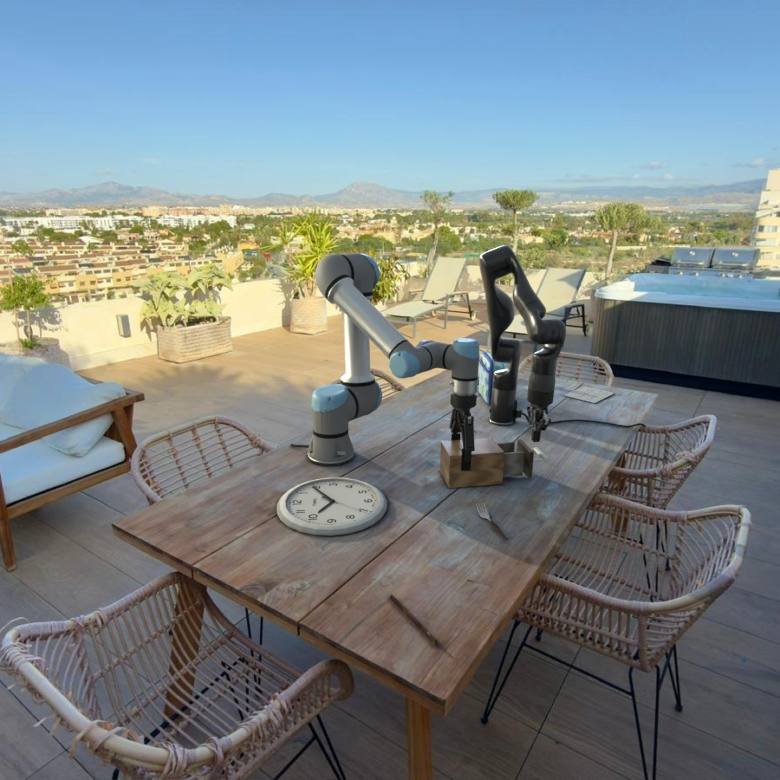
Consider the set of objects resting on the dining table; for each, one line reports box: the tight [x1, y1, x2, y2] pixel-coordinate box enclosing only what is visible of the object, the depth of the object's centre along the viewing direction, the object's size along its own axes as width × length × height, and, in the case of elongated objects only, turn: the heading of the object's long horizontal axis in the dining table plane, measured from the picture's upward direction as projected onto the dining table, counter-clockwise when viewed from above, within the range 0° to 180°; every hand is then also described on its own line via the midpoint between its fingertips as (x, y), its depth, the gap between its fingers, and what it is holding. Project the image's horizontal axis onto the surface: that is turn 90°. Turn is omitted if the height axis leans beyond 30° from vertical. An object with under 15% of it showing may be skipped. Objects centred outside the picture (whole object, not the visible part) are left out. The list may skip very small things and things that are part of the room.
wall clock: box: [276, 476, 388, 537], centre depth 142 cm, size 30×2×30 cm
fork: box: [475, 502, 508, 541], centre depth 134 cm, size 3×16×2 cm, turn 16°
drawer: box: [496, 438, 550, 479], centre depth 160 cm, size 21×10×8 cm, turn 98°
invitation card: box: [562, 385, 616, 404], centre depth 242 cm, size 21×1×15 cm
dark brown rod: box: [389, 593, 438, 646], centre depth 101 cm, size 15×1×1 cm, turn 34°
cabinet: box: [439, 437, 504, 489], centre depth 158 cm, size 16×11×10 cm
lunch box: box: [478, 351, 510, 406], centre depth 230 cm, size 26×11×21 cm, turn 179°
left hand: (460, 461), depth 158 cm, fingers closed on cabinet, 11 cm apart
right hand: (535, 441), depth 159 cm, fingers closed
